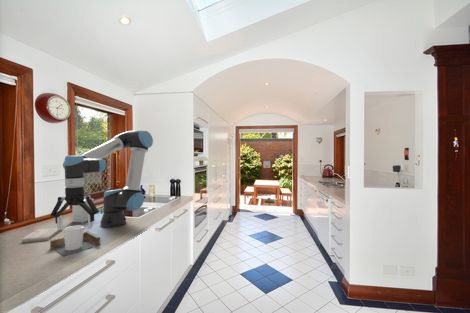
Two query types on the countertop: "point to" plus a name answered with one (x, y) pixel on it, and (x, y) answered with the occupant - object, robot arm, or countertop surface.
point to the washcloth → (41, 235)
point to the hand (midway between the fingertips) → (75, 228)
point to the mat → (66, 252)
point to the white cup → (73, 237)
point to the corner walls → (86, 236)
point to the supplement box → (79, 213)
